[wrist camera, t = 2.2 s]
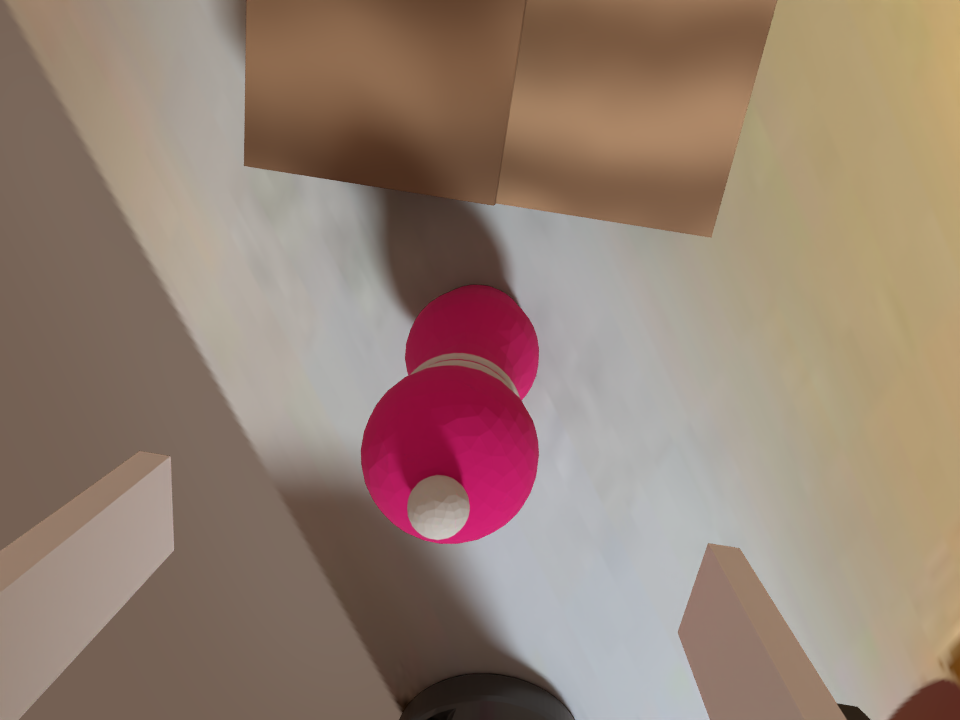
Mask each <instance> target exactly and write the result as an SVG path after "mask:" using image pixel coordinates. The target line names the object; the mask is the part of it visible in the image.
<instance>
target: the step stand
mask: <svg viewBox="0 0 960 720" xmlns="http://www.w3.org/2000/svg"><path fill="white" fill-rule="evenodd" d="M776 3H777V0H246V67H245V138H244V166H248V167H254V168H261V169H267V170H273V171H280V172H286V173H292V174H298V175H305V176H311V177H317V178H324V179H330V180H336V181H342V182H349V183H355V184H361V185H368V186H374V187H380V188H386V189H393V190H399V191H405V192H412V193H418V194H424V195H430V196H437V197H443V198H449V199H456V200H462V201H468V202H474V203H481V204H487V205H493V206H494V205H495V204H496V203H498V204H504V205H510V206H516V207H523V208H529V209H535V210H542V211H548V212H554V213H560V214H567V215H573V216H579V217H586V218H592V219H598V220H604V221H611V222H617V223H623V224H630V225H636V226H642V227H648V228H655V229H661V230H667V231H674V232H680V233H686V234H692V235H699V236H705V237H712V233H713V229H714V226H715V222H716V219H717V215H718V211H719V208H720V204H721V201H722V197H723V194H724V190H725V186H726V183H727V179H728V176H729V172H730V168H731V165H732V161H733V158H734V154H735V150H736V147H737V143H738V140H739V136H740V133H741V129H742V125H743V122H744V118H745V115H746V111H747V107H748V104H749V100H750V97H751V93H752V89H753V86H754V82H755V79H756V75H757V71H758V68H759V64H760V61H761V57H762V54H763V50H764V46H765V43H766V39H767V36H768V32H769V28H770V25H771V21H772V18H773V14H774V10H775V7H776Z"/></svg>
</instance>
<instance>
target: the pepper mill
mask: <svg viewBox="0 0 960 720" xmlns="http://www.w3.org/2000/svg"><path fill="white" fill-rule="evenodd" d="M538 359H539V346H538V340H537V336H536V333H535V330H534V327H533V325H532V324H531V322H530V320H529V318H528V317H527V316H526V314H525V313H524V312H523V310H522V309H521V308H520V307H519V306H518V305H517V304H516V303H515V301H514V300H513V299H512V298H511V297H509V296H508V295H507V294H505V293H504V292H502V291H500V290H498V289H496V288H493V287H490V286H486V285H467V286H462V287H460V288H457V289H454V290H452V291H450V292H448V293H446V294H443V295H441V296H439V297H438V298H436V299H435V300H433V301H431V302H430V303H429V304H428V305H427V306H426V307H425V308H424V309H423V310H422V311H421V312H420V314H419V315H418V316H417V318H416V320H415V322H414V324H413V326H412V328H411V330H410V333H409V336H408V340H407V343H406V353H405V361H406V367H407V372H408V375H409V376H407V377H405V378H404V379H402V380H401V381H400V382H398V383H397V384H396V385H395V386H393V387H392V388H391V389H389V390H388V391H387V392H386V393H385V395H384V396H383V397H382V398H381V400H380V401H379V402H378V403H377V405H376V407H375V408H374V410H373V412H372V414H371V416H370V418H369V420H368V423H367V426H366V428H365V431H364V435H363V441H362V447H361V465H362V470H363V474H364V479H365V484H366V486H367V488H368V490H369V492H370V495H371V497H372V499H373V500H374V502H375V503H376V505H377V506H378V508H379V509H380V510H381V512H382V513H383V514H384V515H385V516H386V517H387V518H388V519H389V520H390V521H391V522H392V523H393V524H395V525H396V526H397V527H399V528H400V529H401V530H403V531H404V532H406V533H408V534H411V535H413V536H415V537H417V538H420V539H422V540H425V541H430V542H435V543H439V544H457V543H463V542H468V541H473V540H478V539H480V538H482V537H484V536H486V535H489V534H491V533H493V532H495V531H496V530H498V529H499V528H501V527H503V526H504V525H506V524H507V523H508V522H509V521H510V520H511V519H512V518H513V517H514V516H515V515H516V514H517V513H518V512H519V510H520V509H521V508H522V506H523V505H524V503H525V501H526V499H527V498H528V496H529V494H530V492H531V490H532V487H533V484H534V481H535V478H536V473H537V465H538V457H539V449H538V439H537V434H536V430H535V426H534V423H533V420H532V418H531V417H530V415H529V413H528V411H527V410H526V408H525V406H524V404H523V403H522V401H521V400H522V399H523V398H524V397H525V396H526V394H527V393H528V391H529V390H530V388H531V387H532V384H533V382H534V379H535V377H536V373H537V368H538Z"/></svg>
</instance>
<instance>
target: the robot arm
mask: <svg viewBox="0 0 960 720" xmlns="http://www.w3.org/2000/svg"><path fill="white" fill-rule="evenodd" d="M171 476H172V475H171V456H168V455H161V454H155V453H149V452H143V451H139V452H137V453H136V454H135V455H133V456H132V457H131V458H129V459H128V460H126V461H125V462H124V463H122V464H121V465H120V466H118V467H117V468H115V469H114V470H113V471H111V472H110V473H108V474H107V475H105V476H104V477H103V478H101V479H100V480H99V481H97V482H96V483H95V484H93V485H92V486H90V487H89V488H87V489H86V490H85V491H83V492H82V493H81V494H79V495H78V496H76V497H75V498H74V499H72V500H71V501H69V502H68V503H67V504H65V505H64V506H62V507H61V508H60V509H58V510H57V511H55V512H54V513H53V514H51V515H50V516H49V517H47V518H46V519H44V520H43V521H42V522H40V523H39V524H37V525H36V526H35V527H33V528H32V529H31V530H29V531H28V532H26V533H25V534H24V535H22V536H21V537H19V538H18V539H17V540H15V541H14V542H12V543H11V544H10V545H8V546H7V547H5V548H4V549H3V550H1V551H0V720H19V719H20V717H21V716H22V715H23V714H24V713H25V712H26V711H27V710H28V709H29V708H30V707H31V705H32V704H33V703H34V702H35V701H36V700H37V699H38V698H39V697H40V696H41V695H42V693H43V692H44V691H45V690H46V689H47V688H48V687H49V686H50V685H51V684H52V683H53V682H54V680H55V679H56V678H57V677H58V676H59V675H60V674H61V673H62V672H63V671H64V670H65V668H66V667H67V666H68V665H69V664H70V663H71V662H72V661H73V660H74V659H75V657H77V655H78V654H79V653H80V652H81V651H82V650H83V649H84V648H85V647H86V646H87V645H88V643H89V642H90V641H91V640H92V639H93V638H94V637H95V636H96V635H97V634H98V633H99V631H100V630H101V629H102V628H103V627H104V626H105V625H106V623H108V622H109V620H111V618H112V617H113V616H114V615H115V614H116V613H117V612H118V611H119V610H120V609H121V608H122V606H123V605H124V604H125V603H126V602H127V601H128V600H129V599H130V598H131V596H132V595H133V594H134V593H135V592H136V591H137V590H138V589H139V588H140V587H141V586H142V585H143V583H145V581H146V580H147V579H148V578H149V577H150V576H151V575H152V574H153V573H154V572H155V570H156V569H157V568H158V567H159V566H160V565H161V564H162V563H163V561H165V560H166V558H167V557H168V556H169V555H170V554H171V553H172V552H173V551H174V529H173V505H172V504H173V502H172V477H171ZM678 634H679V637H680V640H681V643H682V645H683V648H684V651H685V653H686V656H687V659H688V661H689V664H690V667H691V670H692V672H693V675H694V678H695V680H696V683H697V686H698V688H699V691H700V694H701V697H702V699H703V702H704V705H705V707H706V710H707V713H708V715H709V718H710V720H870V719H869V718H868V717H867V716H866V715H865V714H864V713H863V712H862V711H861V710H860V709H859V708H858V707H855V706H849V705H843V704H837V703H836V702H835V700H834V698H833V697H832V695H831V694H830V692H829V690H828V689H827V687H826V686H825V684H824V682H823V681H822V679H821V678H820V676H819V674H818V673H817V671H816V670H815V668H814V666H813V665H812V663H811V662H810V660H809V658H808V657H807V655H806V654H805V652H804V650H803V649H802V647H801V646H800V644H799V642H798V641H797V639H796V638H795V636H794V634H793V633H792V631H791V630H790V628H789V626H788V625H787V623H786V622H785V620H784V618H783V617H782V615H781V614H780V612H779V610H778V609H777V607H776V606H775V604H774V602H773V601H772V599H771V598H770V596H769V594H768V593H767V591H766V590H765V588H764V586H763V585H762V583H761V582H760V580H759V578H758V577H757V575H756V574H755V572H754V570H753V569H752V567H751V566H750V564H749V562H748V561H747V559H746V558H745V556H744V554H743V553H742V551H741V550H740V548H735V547H728V546H722V545H716V544H710V543H708V545H707V548H706V551H705V554H704V557H703V560H702V563H701V566H700V568H699V571H698V574H697V577H696V580H695V583H694V586H693V589H692V592H691V595H690V598H689V601H688V604H687V607H686V610H685V612H684V615H683V618H682V621H681V624H680V627H679V630H678ZM399 720H574V718H573V717H572V715H571V714H570V713H569V711H568V710H567V709H566V708H565V707H564V705H563V704H561V703H560V702H559V701H558V700H557V699H556V698H555V697H553V696H552V695H551V694H549V693H548V692H546V691H544V690H543V689H541V688H539V687H537V686H535V685H533V684H531V683H528V682H525V681H522V680H519V679H516V678H512V677H507V676H501V675H492V674H473V675H465V676H459V677H454V678H451V679H447V680H444V681H442V682H439V683H437V684H435V685H433V686H431V687H429V688H427V689H426V690H424V691H423V692H421V693H420V694H419V695H417V696H416V697H415V698H414V699H413V700H412V701H411V702H410V703H409V704H408V706H407V707H406V708H405V710H404V711H403V713H402V715H401V717H400V719H399Z"/></svg>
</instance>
